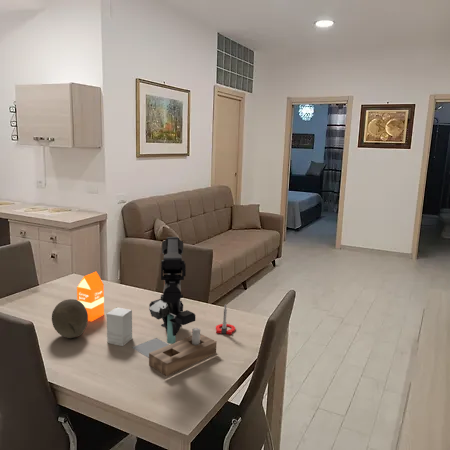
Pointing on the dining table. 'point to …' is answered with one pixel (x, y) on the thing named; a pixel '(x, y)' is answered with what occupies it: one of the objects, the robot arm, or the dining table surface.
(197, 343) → the grey peg
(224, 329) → the tow hook
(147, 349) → the mat
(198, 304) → the dining table surface
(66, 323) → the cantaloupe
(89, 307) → the orange juice
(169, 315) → the teal peg
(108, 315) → the supplement box
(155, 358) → the hole block
